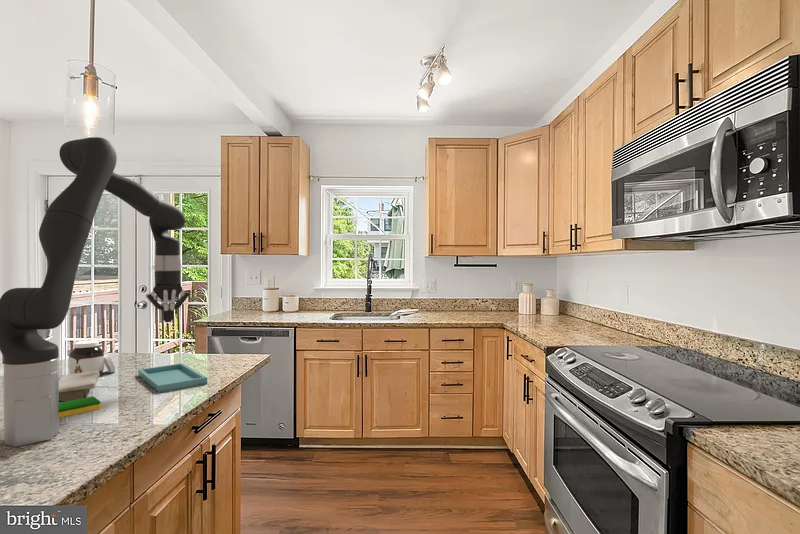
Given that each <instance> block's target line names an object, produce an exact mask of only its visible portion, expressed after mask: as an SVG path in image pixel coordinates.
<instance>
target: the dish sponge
mask: <svg viewBox="0 0 800 534" xmlns="http://www.w3.org/2000/svg"><path fill="white" fill-rule="evenodd" d="M101 406H102V405H101V401H100V399H98V398H97V397H95V396H94V395H93V396H87V398H81V399H76V400H71V401H61V402H59V418H63V417H68V416H72V415H78V414H82V413H87V412H92V411H96V410H100V409H102V408H101Z"/></svg>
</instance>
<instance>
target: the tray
mask: <svg viewBox="0 0 800 534" xmlns="http://www.w3.org/2000/svg"><path fill="white" fill-rule="evenodd" d="M137 371H138V373H137V374H138V375H137V376H138V377H139V376H140V377H141V380H143V381H144V382H145V383H146V384H147V385H148V386H150V387H151V388H152V389H153V390H154V391H156V393H158V394H161V393H166V392H172V391H177V390H182V389H188V388H192V387H193V388H194V387H199V386H205V385H208V376H206V375H204V374H203V373H200V372H199V371H197V370H195V369H193V368H192V367H191V366H189V365H187V364H185V363H182V362H181V363H175V364H168V365H166V364H165V365H160V366H153V367H148V368H146V367H145V368H140V369H139V368H138V370H137ZM140 377H139V378H140Z"/></svg>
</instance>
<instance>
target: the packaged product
mask: <svg viewBox="0 0 800 534" xmlns="http://www.w3.org/2000/svg"><path fill="white" fill-rule="evenodd" d="M100 375H101V373H100V374H99V371H92V372H85V373H77V374H70V373H69V374H64V375H61V376H60V377H59V401H62V402H66V401H71V400H76V399H81V398H87V397H89V393H90V391H91V389H95V388H96V385H97V383H98V381H99V377H100Z"/></svg>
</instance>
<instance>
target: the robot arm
mask: <svg viewBox="0 0 800 534" xmlns="http://www.w3.org/2000/svg"><path fill="white" fill-rule="evenodd" d="M117 155H118V154H117V151H116V149H115V146H114V145H113V143H112V142H111V141H109V140H108V139H106V138H104V137H99V136H98V137H97V136H94V137H84V138H80V139H75V140H74V139H73V140H68V141H66V142H64V143H63V144H61V146H60V147H59V158H60V160H61V163H62V165H63V166H64V167H65V168H66V169H67V170H68V171H70V172H71V173H72V174H74V175H75V177H74V179H73V181H72V182H71V183H70V184H69V185H68V186H67V187H66V188H65V189H64V190H63V191H62V192H60V193H59V194H58V196H56V198H55V199H54V200H53V201H52V202H51V203H50V204H49V206H48V208H47V209H46V211H45V214H44V215H43V218H42V221H41V224H40V226H39V230H38V239H39V242H40V245H41V248H42V250H43V252H44V255H45V258H46V259H47V260H46V261H47V272H46V274H45V278H44V281H43V283H42V285H41V286H40V287H14V288H11V289H8V290H6V291H5V292H4V293H3V294H2V295H1V296H0V353H1V355H2V358H3V443H4V444H5V445H7V446H13V448H17V447H22V446H26V445H31V444H35V443H39V442H44V441H45V442H46V441H51V440H52V439H53V437H55V436H56V435H58V434H59V432H60V426H59V425H60V417H59V403H60V400H59V378H60V377H59V376H60V375H59V372H60V371H59V367H60V364H59V363H60V361H59V360H60V359H59V356H60V354H59V351H60V349H59V346H58V345H57V344H56V343H54V342H51V341H49V340H46V339H45V338H43V337H42V336H41V335H40V334H39V333H38V330H52V329H55V328H56V329H57V328H58V327H59V326H60V325H61V324H62V323H64V320H65V319H66V317H67V314H68V312H69V308H70V305H71V300H72V296H73V290H74V285H75V281H76V276H77V271H78V268H79V264H80V261H81V258H82V254H83V251H84V248H85V246H86V244H87V240H88V238H89V236H90V231H91V229H92V226H93V221H94V218H95V215H96V213H97V210H98V207H99V204H100V203H101V202H100V201H101V199H102V196H103V195H104V191H106V192H108V193H110V194H112V195H114V196H115V197H116V198H118V199H120V200H121V201H124V202H125V203H126V204H128V205H129V206H130V207H132V208H133V209H134V210H135V211H137V212H138V213H139V214H141V215H143V216H145V217H149V221H148V223H149V227H150V231H151V234H152V238H153V240H154V243H155V259H154V267H153V268H154V287H153V289H152V291H151V292H150V293H147V294H146V295H145V297H146V299H147V300H148V301H149V303H151V304H152V305H153V306H154V307H155V308H156V309H157V310H159V311H161V313H162V314H161V315H162V318H161V319H162V321H164V323H172V321H173V320H174V318H175V316H174V315H175V314H174V311H175V310H177V309H180V307H181V306H183V304H184V302H185V301H186V300H187V299H188V297H189V296H190V293H189V292H186V291H185V290H183V287H182V282H181V281H182V280H181V279H182V275H181V272H182V271H181V270H182V269H181V268H182V264H181V252H180V251H181V248H180V246H181V245H180V240H179V239H178V238H177V237H172V236H171V235H170V232H169V231H177V230H180V229H182V228H183V227H184V226H185V224H186V217H185V215H184V213H183V212H182V210H181V209H179V208H178V207H177V206H175V205H173V204H171V203H169V202H167V201H165V200H163V199H161V198H159V197H158V196H157V195H156V194H155V193H153V192H152V191H151V190H150V189H148V188H147V187H146V186H144V185H142V184H141V183H139V182H137V181H134V180H132V179H130V178H127V177H125V176H122V175H120V174H118V173H116V172H114V171H115V169H116V166H117V165H116V164H117V161H118V160H117V159H118V158H117ZM156 297H157V298H158V299H159V300H160V302H158V301H157V299H156ZM178 297H179V298H178ZM177 298H178V300H176V299H177Z"/></svg>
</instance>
